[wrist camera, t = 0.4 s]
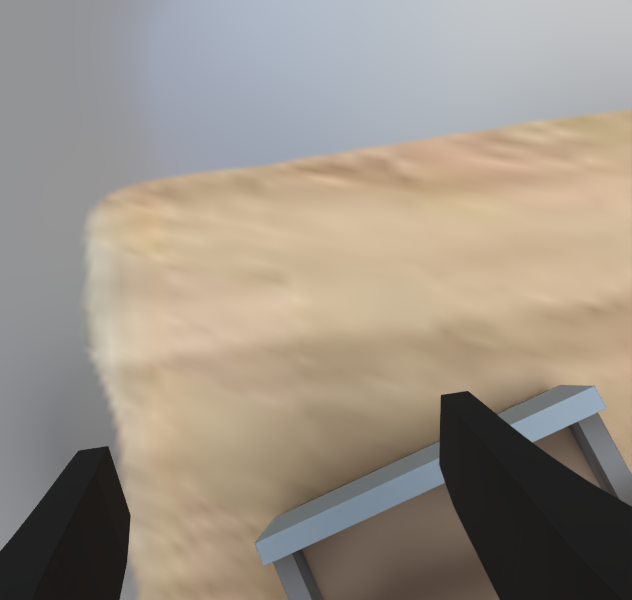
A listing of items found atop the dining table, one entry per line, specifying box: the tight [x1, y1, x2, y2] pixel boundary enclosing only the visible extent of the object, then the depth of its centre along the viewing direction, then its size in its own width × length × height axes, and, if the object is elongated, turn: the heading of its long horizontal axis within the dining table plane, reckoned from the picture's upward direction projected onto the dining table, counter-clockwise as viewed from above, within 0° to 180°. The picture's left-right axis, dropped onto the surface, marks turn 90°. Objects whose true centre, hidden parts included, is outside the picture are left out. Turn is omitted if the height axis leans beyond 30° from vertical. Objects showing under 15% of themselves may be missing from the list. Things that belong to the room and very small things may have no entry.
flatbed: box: [273, 412, 632, 600], centre depth 34 cm, size 13×20×4 cm, turn 115°
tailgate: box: [254, 385, 607, 566], centre depth 33 cm, size 1×19×6 cm, turn 115°
